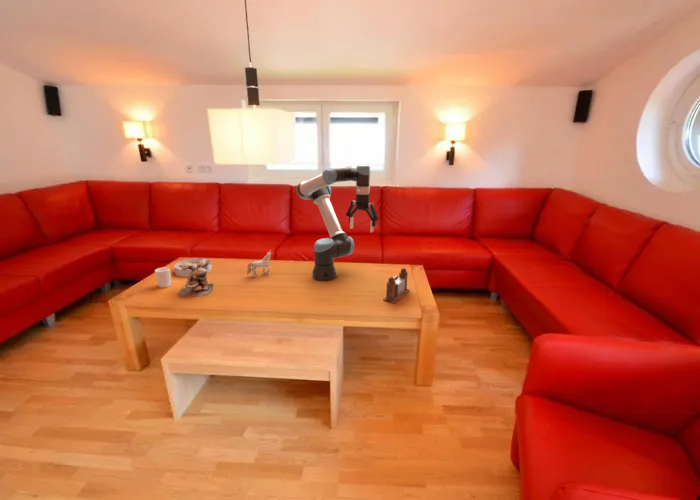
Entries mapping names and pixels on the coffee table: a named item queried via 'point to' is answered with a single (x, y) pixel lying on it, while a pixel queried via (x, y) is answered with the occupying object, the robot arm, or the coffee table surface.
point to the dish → (187, 272)
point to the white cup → (163, 277)
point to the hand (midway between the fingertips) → (361, 230)
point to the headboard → (392, 285)
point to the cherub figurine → (196, 280)
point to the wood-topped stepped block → (399, 286)
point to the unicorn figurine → (259, 265)
